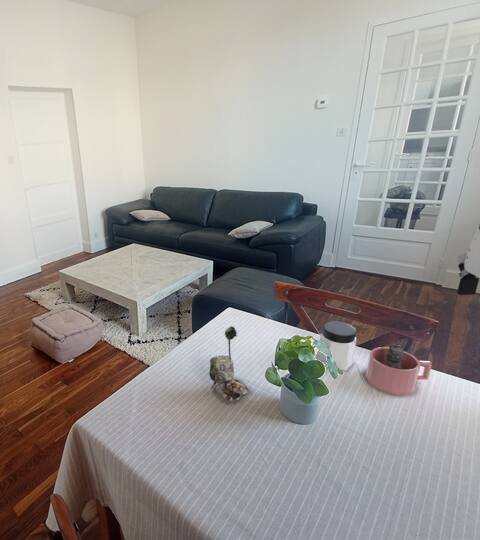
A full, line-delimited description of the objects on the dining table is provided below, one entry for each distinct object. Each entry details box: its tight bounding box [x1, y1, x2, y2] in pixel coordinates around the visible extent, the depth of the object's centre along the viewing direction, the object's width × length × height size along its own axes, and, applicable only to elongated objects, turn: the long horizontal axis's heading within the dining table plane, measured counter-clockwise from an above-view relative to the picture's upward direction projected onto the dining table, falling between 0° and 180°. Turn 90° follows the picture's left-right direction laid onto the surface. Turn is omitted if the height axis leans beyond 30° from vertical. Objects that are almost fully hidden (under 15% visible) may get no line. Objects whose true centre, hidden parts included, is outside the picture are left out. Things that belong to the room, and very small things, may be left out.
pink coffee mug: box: [365, 346, 433, 396], centre depth 90 cm, size 14×10×8 cm
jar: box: [317, 320, 357, 371], centre depth 99 cm, size 9×8×12 cm
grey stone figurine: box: [381, 341, 405, 370], centre depth 89 cm, size 6×6×12 cm
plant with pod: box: [208, 325, 249, 402], centre depth 91 cm, size 8×11×20 cm
